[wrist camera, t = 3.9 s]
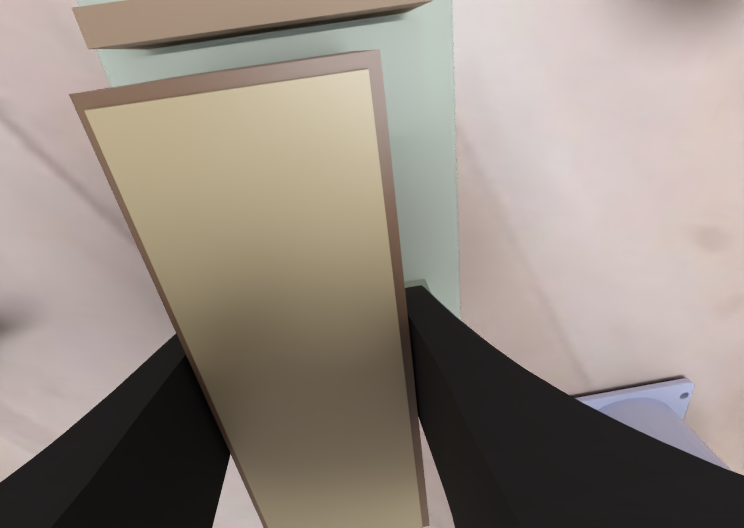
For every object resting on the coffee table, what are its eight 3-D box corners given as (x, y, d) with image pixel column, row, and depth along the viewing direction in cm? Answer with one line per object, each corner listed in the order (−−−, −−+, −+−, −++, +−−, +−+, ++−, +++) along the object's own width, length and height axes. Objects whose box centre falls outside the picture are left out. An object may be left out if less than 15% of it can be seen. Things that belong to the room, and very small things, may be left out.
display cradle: (456, 346, 20) (488, 416, 16) (238, 384, 20) (218, 464, 16) (443, -48, 13) (497, -91, 9) (89, 1, 12) (-18, -22, 8)
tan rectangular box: (395, 376, 15) (431, 533, 10) (290, 394, 15) (274, 563, 10) (352, 51, 10) (382, 48, 5) (192, 74, 10) (59, 95, 5)
